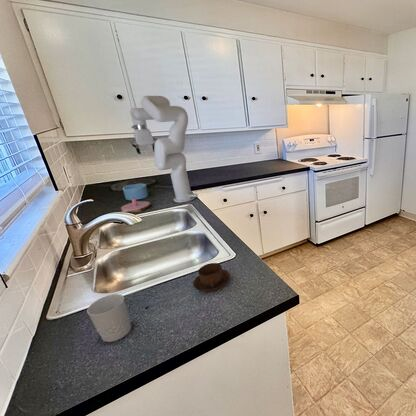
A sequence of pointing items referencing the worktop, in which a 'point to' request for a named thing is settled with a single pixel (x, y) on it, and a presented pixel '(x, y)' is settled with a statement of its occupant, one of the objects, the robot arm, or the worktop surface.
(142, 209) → the trivet
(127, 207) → the plate lid
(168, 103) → the robot arm
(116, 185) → the decorative plate
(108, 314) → the white cup
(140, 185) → the bowl
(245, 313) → the worktop surface
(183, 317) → the worktop surface
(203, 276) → the cup and saucer
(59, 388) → the worktop surface
